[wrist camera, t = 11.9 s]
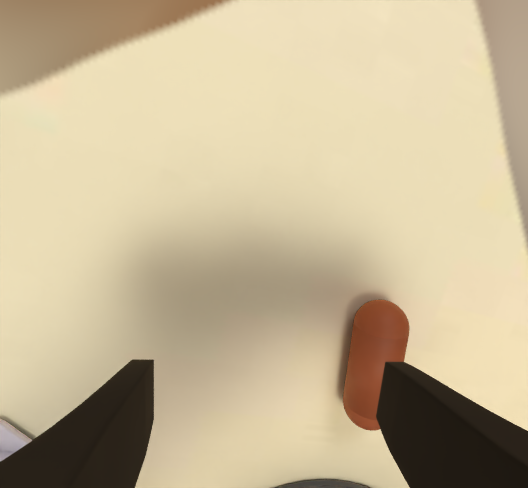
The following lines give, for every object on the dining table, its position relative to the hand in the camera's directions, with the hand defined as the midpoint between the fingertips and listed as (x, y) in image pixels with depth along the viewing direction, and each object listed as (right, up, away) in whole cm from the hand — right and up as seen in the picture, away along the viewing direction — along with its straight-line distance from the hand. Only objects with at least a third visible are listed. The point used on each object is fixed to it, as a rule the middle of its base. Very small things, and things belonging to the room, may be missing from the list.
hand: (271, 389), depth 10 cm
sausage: (+6, -3, +9) cm, 12 cm away
